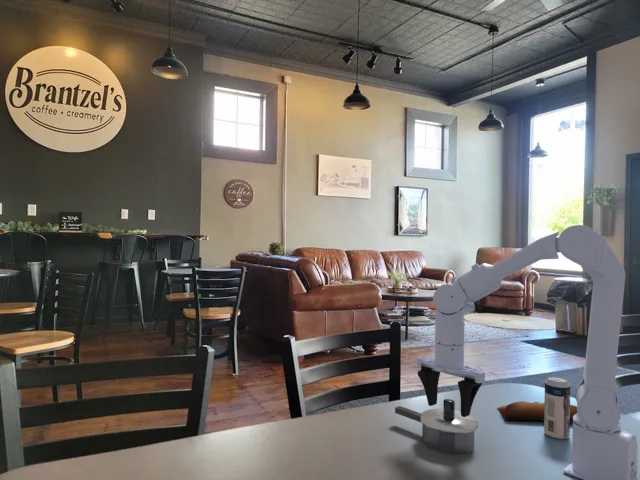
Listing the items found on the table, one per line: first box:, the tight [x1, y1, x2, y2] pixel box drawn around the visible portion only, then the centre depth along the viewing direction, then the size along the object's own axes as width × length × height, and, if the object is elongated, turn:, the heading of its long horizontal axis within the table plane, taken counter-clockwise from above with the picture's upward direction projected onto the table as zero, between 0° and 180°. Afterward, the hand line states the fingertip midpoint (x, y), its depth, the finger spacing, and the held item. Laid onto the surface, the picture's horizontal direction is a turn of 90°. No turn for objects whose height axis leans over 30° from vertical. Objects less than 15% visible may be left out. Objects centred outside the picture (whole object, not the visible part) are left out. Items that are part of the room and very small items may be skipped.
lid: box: [420, 398, 479, 434], centre depth 92 cm, size 11×11×4 cm
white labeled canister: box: [543, 376, 571, 440], centre depth 96 cm, size 5×5×12 cm
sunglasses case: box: [496, 400, 577, 423], centre depth 106 cm, size 18×7×7 cm, turn 85°
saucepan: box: [394, 405, 475, 455], centre depth 95 cm, size 18×10×4 cm, turn 42°
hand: (448, 409), depth 92 cm, fingers open, 7 cm apart
